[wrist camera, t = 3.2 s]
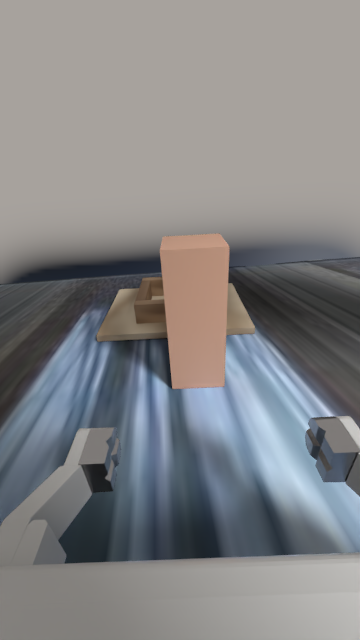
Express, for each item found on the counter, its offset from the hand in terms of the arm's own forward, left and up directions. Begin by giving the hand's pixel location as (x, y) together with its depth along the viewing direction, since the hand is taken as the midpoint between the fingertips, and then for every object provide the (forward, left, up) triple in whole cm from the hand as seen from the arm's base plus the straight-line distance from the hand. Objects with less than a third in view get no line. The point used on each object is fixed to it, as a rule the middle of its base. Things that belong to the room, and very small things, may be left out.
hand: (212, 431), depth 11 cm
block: (0, -12, -7) cm, 14 cm away
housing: (+2, -25, -7) cm, 26 cm away
